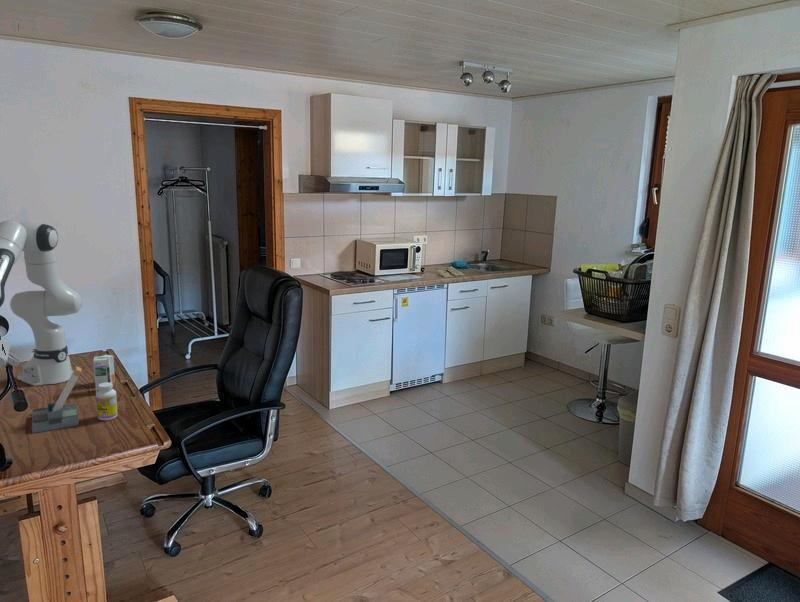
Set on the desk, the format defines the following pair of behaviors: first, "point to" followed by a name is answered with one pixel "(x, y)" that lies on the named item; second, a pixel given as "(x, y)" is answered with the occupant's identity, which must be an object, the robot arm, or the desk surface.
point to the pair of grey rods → (47, 407)
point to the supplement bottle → (106, 402)
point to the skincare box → (111, 367)
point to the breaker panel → (54, 418)
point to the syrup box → (102, 370)
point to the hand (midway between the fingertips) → (18, 363)
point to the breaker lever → (67, 389)
